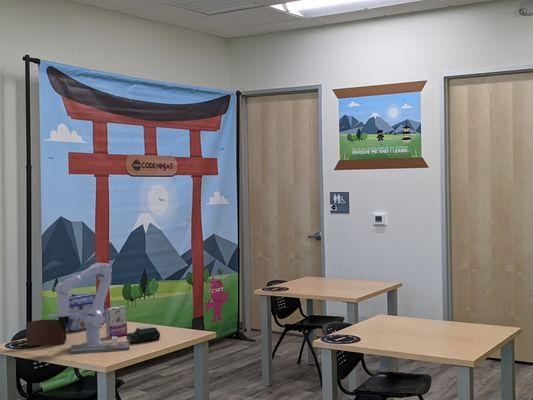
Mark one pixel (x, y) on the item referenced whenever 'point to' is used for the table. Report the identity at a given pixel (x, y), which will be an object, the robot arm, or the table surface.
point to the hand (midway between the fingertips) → (64, 331)
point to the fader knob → (114, 341)
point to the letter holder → (45, 332)
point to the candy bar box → (116, 321)
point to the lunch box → (81, 310)
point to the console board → (98, 347)
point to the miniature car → (143, 334)
